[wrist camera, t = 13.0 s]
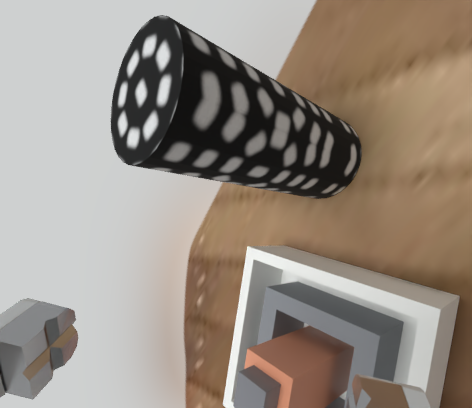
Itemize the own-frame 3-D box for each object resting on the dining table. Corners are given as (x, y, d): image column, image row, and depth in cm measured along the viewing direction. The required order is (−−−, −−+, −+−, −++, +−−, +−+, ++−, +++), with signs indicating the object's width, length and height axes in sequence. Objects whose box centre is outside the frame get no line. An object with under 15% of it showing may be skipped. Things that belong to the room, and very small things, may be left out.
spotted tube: (378, 165, 27) (202, 86, 13) (308, 213, 32) (123, 193, 18) (335, 101, 30) (160, -16, 17) (277, 153, 35) (103, 96, 21)
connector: (360, 341, 26) (278, 387, 18) (352, 386, 26) (267, 452, 18) (319, 321, 29) (232, 354, 21) (312, 362, 29) (223, 410, 21)
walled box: (460, 296, 22) (440, 309, 18) (421, 503, 23) (394, 563, 18) (284, 245, 33) (247, 246, 29) (262, 384, 34) (222, 404, 30)
